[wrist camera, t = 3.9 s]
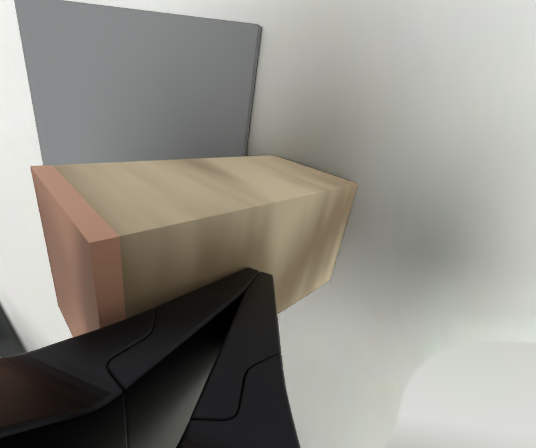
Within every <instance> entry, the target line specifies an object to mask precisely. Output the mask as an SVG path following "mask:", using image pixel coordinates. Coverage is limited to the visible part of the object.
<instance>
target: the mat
mask: <svg viewBox="0 0 536 448" xmlns="http://www.w3.org/2000/svg"><path fill="white" fill-rule="evenodd" d="M14 1H15V7H16V13H17V18H18V24H19V30H20V36H21V41H22V47H23V53H24V58H25V64H26V70H27V75H28V81H29V87H30V92H31V98H32V104H33V110H34V115H35V121H36V127H37V132H38V138H39V144H40V149H41V155H42V161H43V166H46V165H68V164H89V163H111V162H133V161H154V160H176V159H198V158H219V157H241V156H246V150H247V142H248V134H249V126H250V118H251V110H252V102H253V93H254V85H255V77H256V69H257V61H258V53H259V45H260V37H261V29H262V27H261V26H259V25H258V24H250V23H242V22H234V21H226V20H218V19H210V18H202V17H193V16H185V15H177V14H169V13H161V12H153V11H144V10H136V9H128V8H120V7H112V6H104V5H96V4H87V3H79V2H71V1H63V0H14Z"/></svg>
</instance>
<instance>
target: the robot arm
mask: <svg viewBox="0 0 536 448" xmlns="http://www.w3.org/2000/svg"><path fill="white" fill-rule="evenodd" d="M179 440H180V441H179ZM178 442H179V443H178ZM177 444H178V445H177ZM175 447H176V448H300V444H299V440H298V436H297V433H296V429H295V425H294V421H293V417H292V413H291V409H290V404H289V400H288V395H287V390H286V385H285V378H284V371H283V363H282V355H281V346H280V336H279V326H278V317H277V307H276V297H275V288H274V278H273V275H272V274H269V273H265V272H260V271H259V270H256V269H253V268H249V267H248V268H245V269H243V270H240V271H238V272H236V273H233V274H231V275H229V276H226V277H224V278H222V279H219V280H217V281H214V282H212V283H210V284H207V285H205V286H203V287H200V288H198V289H196V290H193V291H191V292H189V293H186V294H184V295H182V296H179V297H177V298H175V299H172V300H170V301H168V302H165V303H163V304H161V305H158V306H156V309H155V308H151V309H149V310H146V311H144V312H142V313H139V314H137V315H134V316H132V317H129V318H127V319H124V320H122V321H119V322H116V323H113V324H111V325H108V326H105V327H102V328H99V329H97V330H94V331H91V332H88V333H85V334H82V335H79V336H76V337H73V338H70V339H67V340H64V341H61V342H58V343H55V344H52V345H49V346H46V347H43V348H40V349H37V350H34V351H30V352H27V353H24V354H19V355H15V356H10V357H3V358H0V448H175Z"/></svg>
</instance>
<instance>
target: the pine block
mask: <svg viewBox="0 0 536 448" xmlns="http://www.w3.org/2000/svg"><path fill="white" fill-rule="evenodd" d="M30 167H31V172H32V177H33V182H34V187H35V192H36V197H37V202H38V207H39V212H40V217H41V222H42V227H43V232H44V237H45V242H46V247H47V252H48V257H49V262H50V267H51V272H52V277H53V282H54V287H55V292H56V297H57V302H58V306H59V308H60V310H61V312H62V315H63V317H64V319H65V321H66V323H67V325H68V327H69V329H70V332H71V334H72V336H73V337H76V336H79V335H82V334H85V333H88V332H91V331H94V330H97V329H99V328H102V327H105V326H108V325H111V324H113V323H116V322H119V321H122V320H124V319H127V318H129V317H132V316H134V315H137V314H139V313H142V312H144V311H146V310H149V309H151V308H155V309H156V306H158V305H161V304H163V303H165V302H168V301H170V300H172V299H175V298H177V297H179V296H182V295H184V294H186V293H189V292H191V291H193V290H196V289H198V288H200V287H203V286H205V285H207V284H210V283H212V282H214V281H217V280H219V279H222V278H224V277H226V276H229V275H231V274H233V273H236V272H238V271H240V270H243V269H245V268H248V267H249V268H253V269H256V270H259V271H260V272H265V273H269V274H272V275H273V278H274V288H275V297H276V307H277V314H278V313H280V312H282V311H283V310H285V309H286V308H288V307H289V306H291V305H293V304H294V303H296V302H297V301H299V300H301V299H302V298H304V297H305V296H307V295H308V294H310V293H312V292H313V291H315V290H316V289H318V288H319V287H321V286H323V285H324V284H326V283H327V282H329V281H330V279H331V275H332V272H333V269H334V265H335V262H336V259H337V255H338V252H339V248H340V245H341V242H342V238H343V235H344V231H345V228H346V225H347V221H348V218H349V214H350V211H351V208H352V204H353V201H354V198H355V194H356V191H357V187H358V184H357V183H354V182H351V181H348V180H345V179H342V178H339V177H337V176H334V175H331V174H328V173H325V172H322V171H319V170H316V169H313V168H310V167H307V166H304V165H301V164H298V163H295V162H292V161H289V160H286V159H284V158H281V157H278V156H275V155H263V156H241V157H219V158H198V159H176V160H154V161H133V162H111V163H89V164H68V165H46V166H30Z"/></svg>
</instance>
